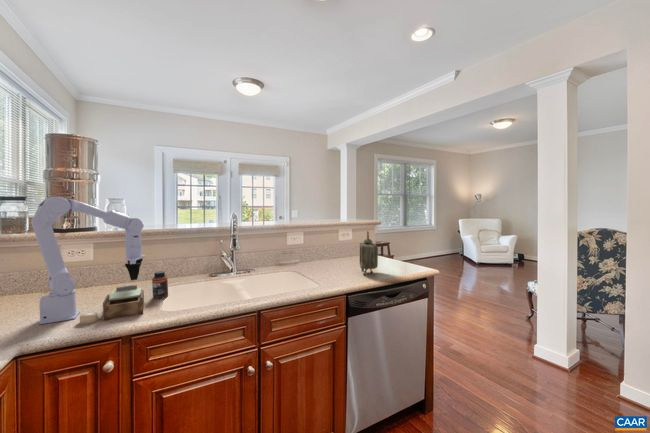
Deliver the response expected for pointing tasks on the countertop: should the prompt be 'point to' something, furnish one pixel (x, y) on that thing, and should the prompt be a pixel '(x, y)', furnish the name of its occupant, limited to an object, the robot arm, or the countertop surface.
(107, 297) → the box
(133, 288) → the lid
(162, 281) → the supplement bottle
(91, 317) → the beige square block
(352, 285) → the countertop surface
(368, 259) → the green suitcase
